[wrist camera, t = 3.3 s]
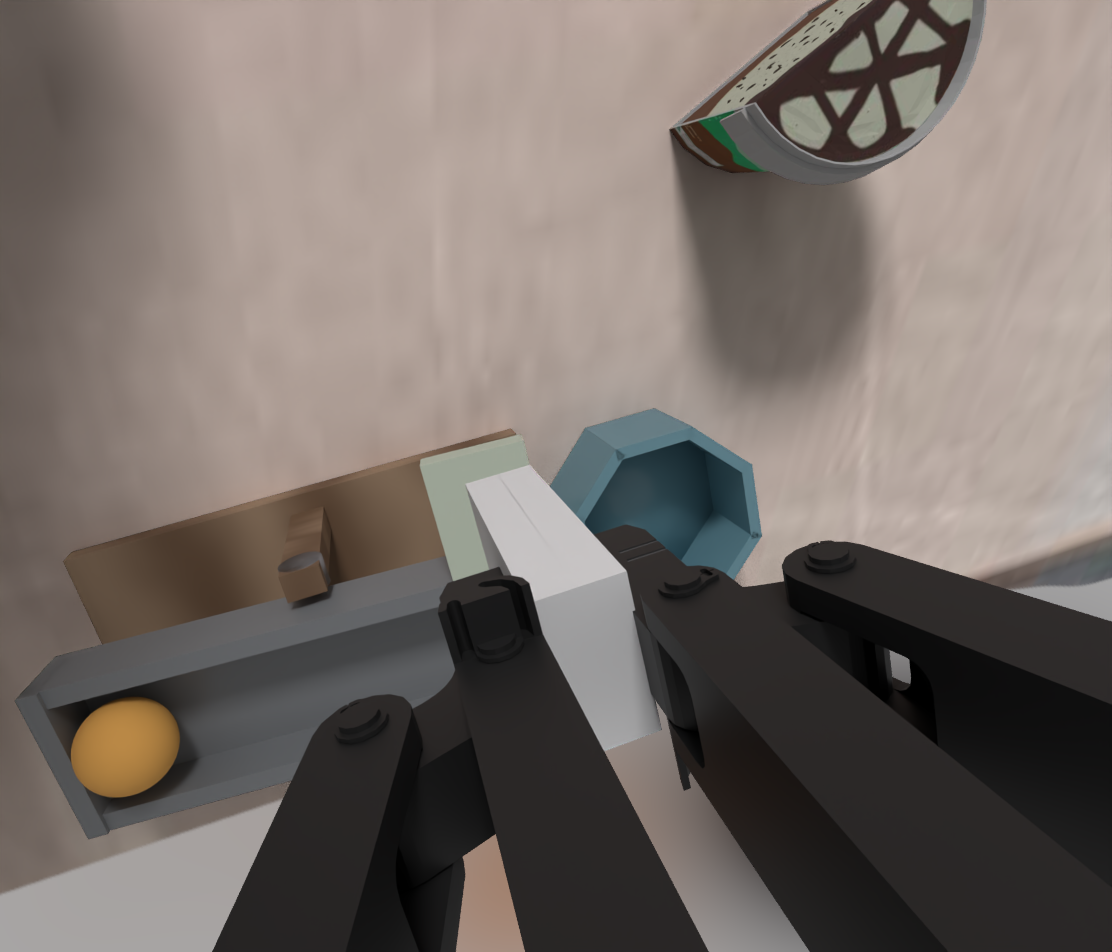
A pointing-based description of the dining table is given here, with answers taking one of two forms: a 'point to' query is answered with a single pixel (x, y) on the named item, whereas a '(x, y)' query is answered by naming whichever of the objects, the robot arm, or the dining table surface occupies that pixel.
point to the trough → (270, 666)
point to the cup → (664, 488)
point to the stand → (262, 550)
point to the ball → (125, 747)
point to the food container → (839, 90)
